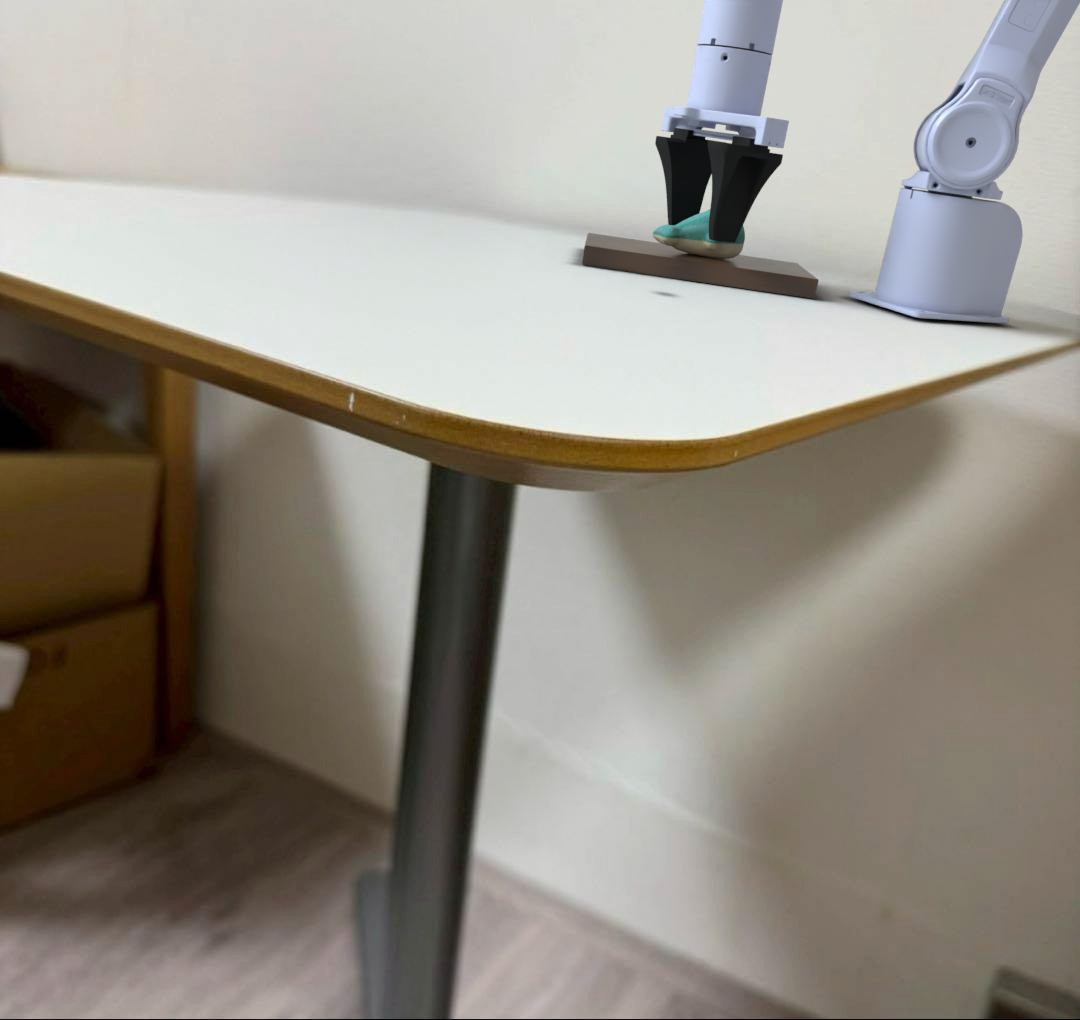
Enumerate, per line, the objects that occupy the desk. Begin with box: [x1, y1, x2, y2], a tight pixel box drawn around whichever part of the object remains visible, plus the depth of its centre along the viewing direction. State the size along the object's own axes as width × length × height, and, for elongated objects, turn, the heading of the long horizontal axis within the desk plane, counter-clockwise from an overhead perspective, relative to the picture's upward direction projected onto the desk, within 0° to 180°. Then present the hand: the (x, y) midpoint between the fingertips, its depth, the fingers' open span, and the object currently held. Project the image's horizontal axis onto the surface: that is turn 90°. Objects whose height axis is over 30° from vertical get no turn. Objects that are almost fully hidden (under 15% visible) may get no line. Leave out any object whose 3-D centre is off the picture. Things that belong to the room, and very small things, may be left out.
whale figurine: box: [652, 209, 746, 259], centre depth 84 cm, size 6×7×4 cm
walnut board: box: [581, 232, 819, 300], centre depth 85 cm, size 18×10×2 cm, turn 86°
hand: (700, 234), depth 84 cm, fingers closed on whale figurine, 6 cm apart
